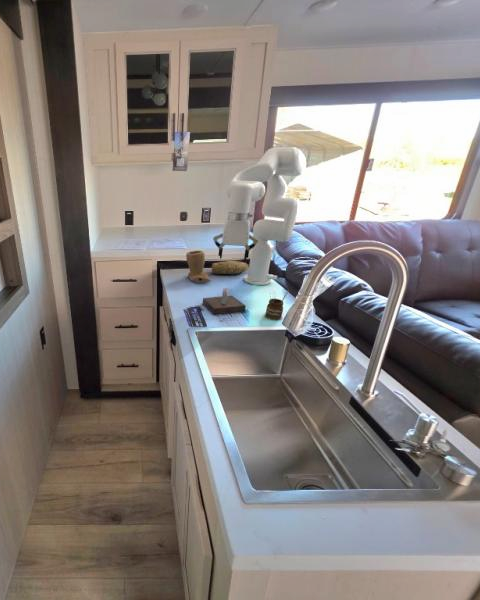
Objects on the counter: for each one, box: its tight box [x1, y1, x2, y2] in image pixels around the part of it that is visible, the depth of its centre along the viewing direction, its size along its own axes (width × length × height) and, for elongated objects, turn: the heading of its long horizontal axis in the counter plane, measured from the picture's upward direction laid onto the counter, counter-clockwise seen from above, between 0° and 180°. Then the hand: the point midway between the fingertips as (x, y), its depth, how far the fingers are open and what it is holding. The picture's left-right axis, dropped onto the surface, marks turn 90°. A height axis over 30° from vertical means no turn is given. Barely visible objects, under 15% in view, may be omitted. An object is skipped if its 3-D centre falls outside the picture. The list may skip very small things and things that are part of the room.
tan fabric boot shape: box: [185, 250, 211, 284], centre depth 164 cm, size 15×12×15 cm
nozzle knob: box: [221, 287, 229, 305], centre depth 132 cm, size 6×2×5 cm, turn 162°
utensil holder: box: [265, 289, 289, 321], centre depth 124 cm, size 6×6×12 cm
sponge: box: [211, 260, 249, 275], centre depth 175 cm, size 13×8×20 cm
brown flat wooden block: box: [202, 295, 246, 316], centre depth 133 cm, size 14×11×3 cm
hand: (232, 258), depth 130 cm, fingers open, 9 cm apart
